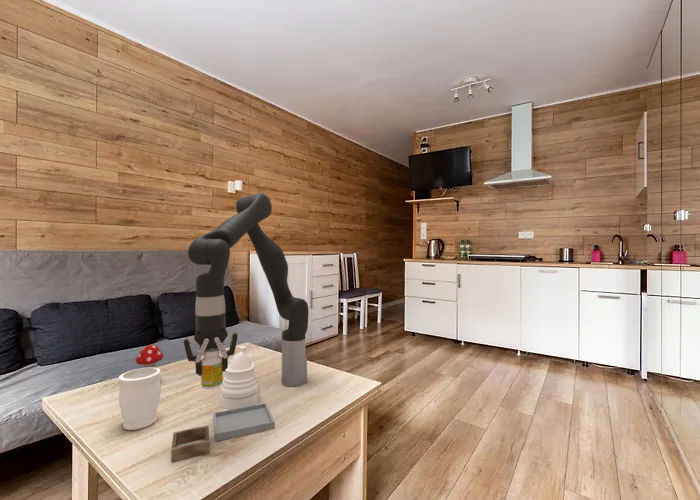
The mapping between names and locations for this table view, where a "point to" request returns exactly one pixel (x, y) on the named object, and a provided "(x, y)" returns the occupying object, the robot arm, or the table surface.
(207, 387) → the supplement bottle
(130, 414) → the jar
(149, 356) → the decorative mushroom
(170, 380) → the table surface
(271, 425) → the tray
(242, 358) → the honey pot
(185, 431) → the holder
